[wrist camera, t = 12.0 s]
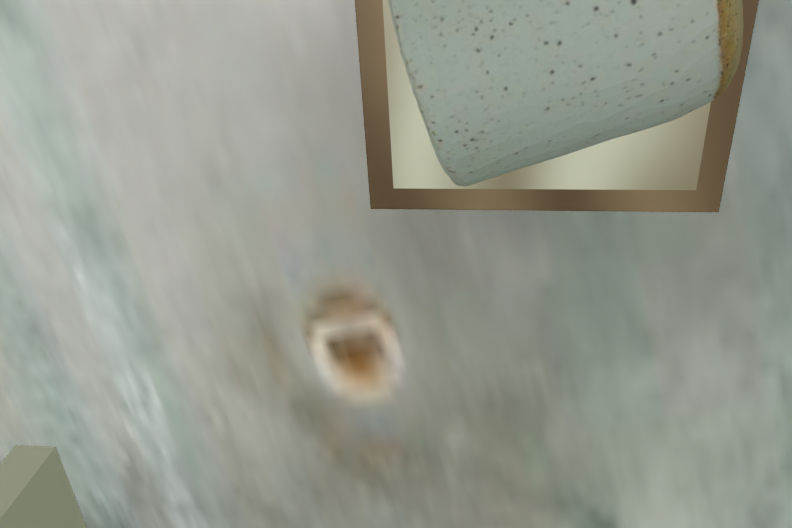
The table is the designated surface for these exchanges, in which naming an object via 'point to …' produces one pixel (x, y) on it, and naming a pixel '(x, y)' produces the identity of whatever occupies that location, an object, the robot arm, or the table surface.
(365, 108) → the pedestal
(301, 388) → the table surface
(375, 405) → the table surface
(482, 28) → the ceramic mug
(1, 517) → the robot arm
